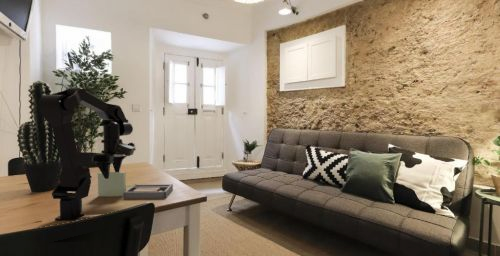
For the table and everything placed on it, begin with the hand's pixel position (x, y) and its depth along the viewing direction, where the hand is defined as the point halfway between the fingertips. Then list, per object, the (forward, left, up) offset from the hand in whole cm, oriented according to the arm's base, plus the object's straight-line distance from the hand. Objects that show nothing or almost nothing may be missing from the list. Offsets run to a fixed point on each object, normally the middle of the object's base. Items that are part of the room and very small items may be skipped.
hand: (112, 176), depth 106 cm
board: (0, 0, -8) cm, 9 cm away
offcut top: (0, -13, -7) cm, 15 cm away
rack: (+2, -14, -8) cm, 16 cm away
